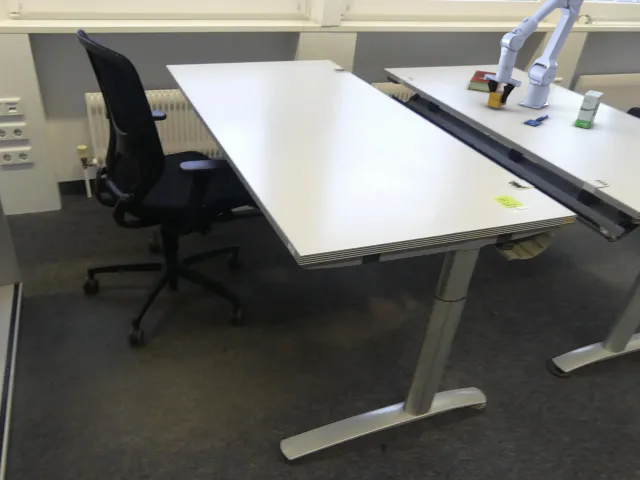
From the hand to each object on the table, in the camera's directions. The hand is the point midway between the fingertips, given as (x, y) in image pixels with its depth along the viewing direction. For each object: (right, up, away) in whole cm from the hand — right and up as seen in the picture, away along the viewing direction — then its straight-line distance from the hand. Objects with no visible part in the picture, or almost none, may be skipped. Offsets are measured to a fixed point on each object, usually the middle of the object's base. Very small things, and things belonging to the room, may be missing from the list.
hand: (497, 101), depth 221 cm
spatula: (+11, -11, -12) cm, 19 cm away
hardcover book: (+6, +16, +29) cm, 34 cm away
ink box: (+28, -13, -13) cm, 33 cm away
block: (0, -1, +1) cm, 1 cm away
